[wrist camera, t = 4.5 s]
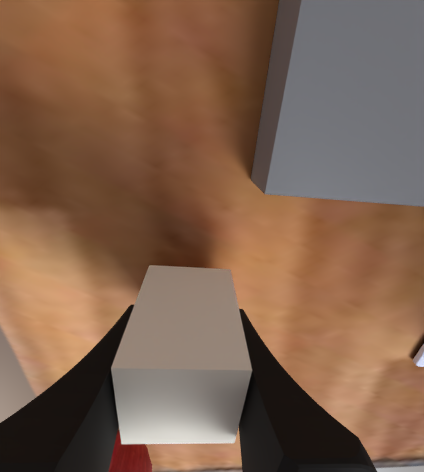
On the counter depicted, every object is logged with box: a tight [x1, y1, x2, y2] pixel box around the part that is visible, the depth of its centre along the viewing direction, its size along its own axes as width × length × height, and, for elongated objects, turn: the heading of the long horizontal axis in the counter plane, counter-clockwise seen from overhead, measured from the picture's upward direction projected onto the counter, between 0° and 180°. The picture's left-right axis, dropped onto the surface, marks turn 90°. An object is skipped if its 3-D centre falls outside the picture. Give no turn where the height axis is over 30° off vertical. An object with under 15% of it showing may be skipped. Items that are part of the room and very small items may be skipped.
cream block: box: [111, 265, 252, 444], centre depth 11 cm, size 4×4×6 cm
